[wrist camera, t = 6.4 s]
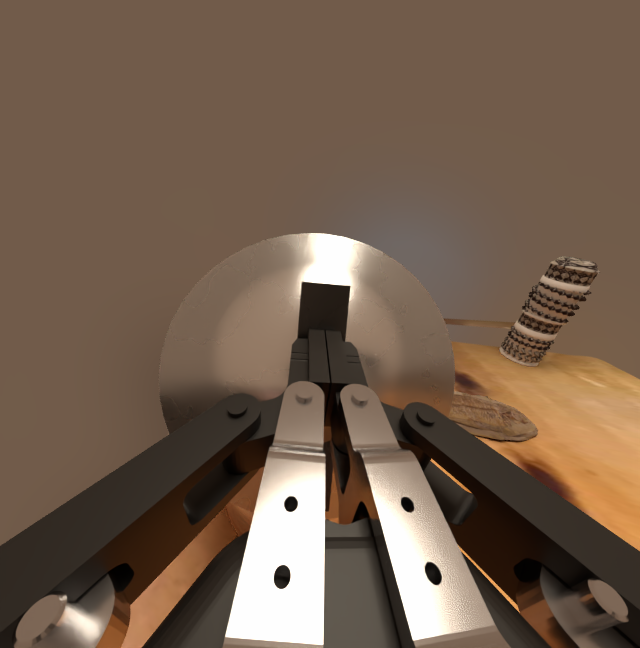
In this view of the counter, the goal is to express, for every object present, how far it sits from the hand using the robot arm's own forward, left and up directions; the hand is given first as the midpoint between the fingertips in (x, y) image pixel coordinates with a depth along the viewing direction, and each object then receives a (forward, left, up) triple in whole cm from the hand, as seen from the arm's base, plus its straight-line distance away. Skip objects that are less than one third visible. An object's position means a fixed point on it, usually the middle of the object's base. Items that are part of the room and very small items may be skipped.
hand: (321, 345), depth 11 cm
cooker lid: (+1, -2, -4) cm, 5 cm away
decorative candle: (-29, -61, -25) cm, 72 cm away
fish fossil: (-14, -31, -25) cm, 42 cm away
